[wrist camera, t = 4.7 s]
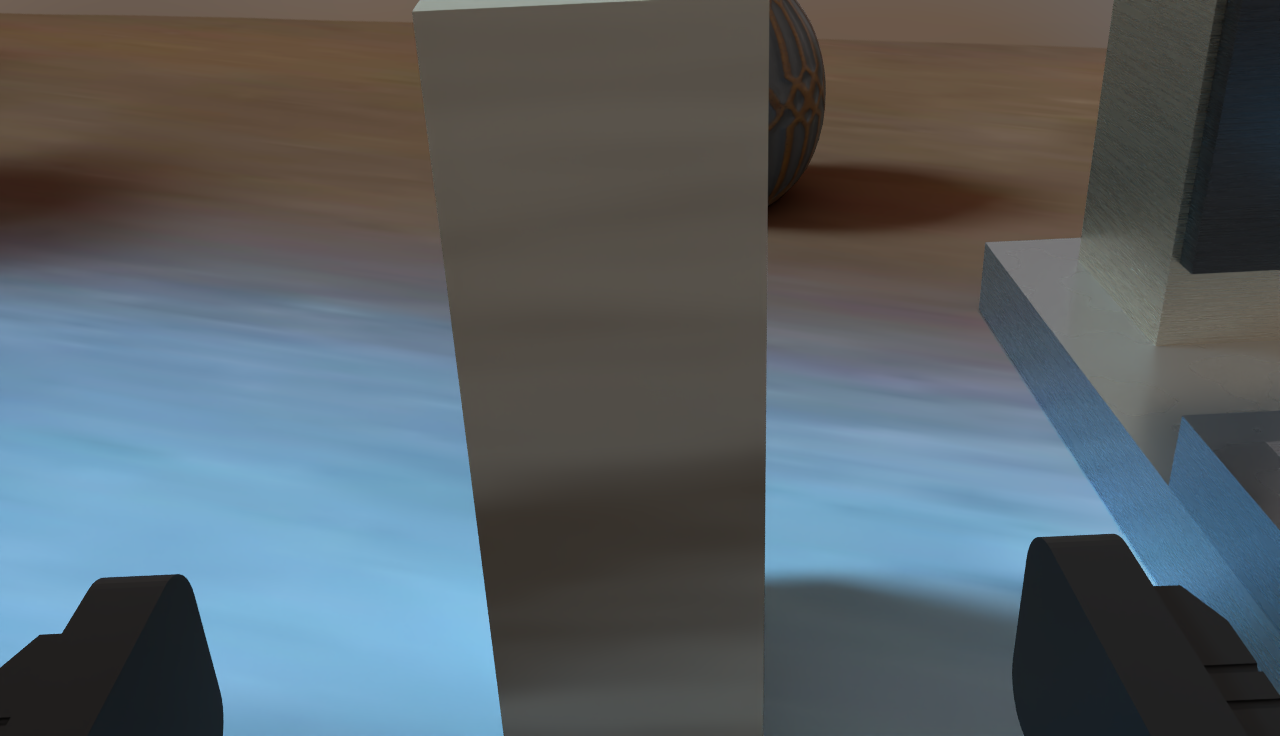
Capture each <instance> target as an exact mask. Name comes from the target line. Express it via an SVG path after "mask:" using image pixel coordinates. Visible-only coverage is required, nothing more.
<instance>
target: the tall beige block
mask: <svg viewBox="0 0 1280 736" xmlns="http://www.w3.org/2000/svg"><path fill="white" fill-rule="evenodd" d="M412 15H413V23H414V31H415V39H416V46H417V54H418V62H419V70H420V78H421V86H422V94H423V102H424V110H425V118H426V125H427V133H428V141H429V149H430V157H431V165H432V173H433V181H434V189H435V196H436V204H437V212H438V220H439V228H440V236H441V244H442V252H443V260H444V268H445V275H446V283H447V291H448V299H449V307H450V315H451V323H452V331H453V339H454V346H455V354H456V362H457V370H458V378H459V386H460V394H461V402H462V410H463V418H464V425H465V433H466V441H467V449H468V457H469V465H470V473H471V481H472V489H473V496H474V504H475V512H476V520H477V528H478V536H479V544H480V552H481V560H482V567H483V575H484V583H485V591H486V599H487V607H488V615H489V623H490V631H491V639H492V646H493V654H494V662H495V670H496V678H497V686H498V694H499V702H500V710H501V717H502V725H503V733H504V736H763V706H764V588H765V469H766V350H767V232H768V113H769V0H420V1H419V2H418V4H417V5H416V7H415V8H414V10H413V11H412Z"/></svg>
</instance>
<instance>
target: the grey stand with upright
mask: <svg viewBox="0 0 1280 736" xmlns="http://www.w3.org/2000/svg"><path fill="white" fill-rule="evenodd" d="M979 310H980V312H981V313H982V315H983V316H984V318H985V320H986V321H987V323H988V324H989V326H990V327H991V329H992V330H993V332H994V333H995V335H996V336H997V338H998V339H999V341H1000V343H1001V344H1002V346H1003V347H1004V349H1005V350H1006V352H1007V353H1008V355H1009V356H1010V358H1011V359H1012V361H1013V362H1014V364H1015V366H1016V367H1017V369H1018V370H1019V372H1020V373H1021V375H1022V376H1023V378H1024V379H1025V381H1026V382H1027V384H1028V385H1029V387H1030V389H1031V390H1032V392H1033V393H1034V395H1035V396H1036V398H1037V399H1038V401H1039V402H1040V404H1041V405H1042V407H1043V408H1044V410H1045V412H1046V413H1047V415H1048V416H1049V418H1050V419H1051V421H1052V422H1053V424H1054V425H1055V427H1056V428H1057V430H1058V431H1059V433H1060V435H1061V436H1062V438H1063V439H1064V441H1065V442H1066V444H1067V445H1068V447H1069V448H1070V450H1071V451H1072V453H1073V454H1074V456H1075V458H1076V459H1077V461H1078V462H1079V464H1080V465H1081V467H1082V468H1083V470H1084V471H1085V473H1086V474H1087V476H1088V477H1089V479H1090V481H1091V482H1092V484H1093V485H1094V487H1095V488H1096V490H1097V491H1098V493H1099V494H1100V496H1101V497H1102V499H1103V500H1104V502H1105V504H1106V505H1107V507H1108V508H1109V510H1110V511H1111V513H1112V514H1113V516H1114V517H1115V519H1116V520H1117V522H1118V523H1119V525H1120V527H1121V528H1122V530H1123V531H1124V533H1125V534H1126V536H1127V537H1128V539H1129V540H1130V542H1131V543H1132V545H1133V546H1134V548H1135V550H1136V551H1137V553H1138V554H1139V556H1140V557H1141V559H1142V560H1143V562H1144V563H1145V565H1146V566H1147V568H1148V569H1149V571H1150V573H1151V574H1152V576H1153V577H1154V579H1155V580H1156V582H1157V583H1158V585H1159V586H1171V585H1181V586H1182V587H1183V588H1185V589H1186V590H1188V591H1189V592H1190V593H1192V594H1193V595H1194V596H1196V597H1197V598H1198V599H1200V600H1201V601H1202V602H1204V603H1205V604H1206V605H1208V606H1209V607H1210V608H1212V609H1213V610H1214V611H1216V612H1217V613H1218V614H1220V615H1221V616H1222V617H1224V618H1225V619H1227V620H1228V621H1229V623H1230V624H1231V626H1232V627H1233V629H1234V630H1235V631H1236V633H1237V634H1238V636H1239V637H1240V639H1241V640H1242V642H1243V643H1244V644H1245V646H1246V647H1247V649H1248V650H1249V652H1250V653H1251V655H1252V656H1253V657H1254V659H1255V660H1256V662H1257V668H1258V671H1259V672H1261V671H1263V672H1264V673H1265V675H1266V676H1267V678H1268V679H1269V680H1270V682H1271V683H1272V685H1273V686H1274V688H1275V689H1276V690H1277V692H1278V693H1279V695H1280V0H1114V4H1113V11H1112V18H1111V26H1110V32H1109V40H1108V47H1107V54H1106V61H1105V69H1104V76H1103V83H1102V90H1101V98H1100V105H1099V112H1098V119H1097V127H1096V134H1095V141H1094V148H1093V156H1092V163H1091V170H1090V177H1089V185H1088V192H1087V199H1086V206H1085V214H1084V221H1083V228H1082V235H1081V238H1067V239H1047V240H1026V241H1006V242H985V252H984V262H983V272H982V282H981V292H980V302H979Z"/></svg>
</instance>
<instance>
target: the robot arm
mask: <svg viewBox="0 0 1280 736" xmlns="http://www.w3.org/2000/svg"><path fill="white" fill-rule="evenodd" d="M1012 680H1013V692H1014V700H1015V705H1016V711H1017V715H1018V719H1019V722H1020V726H1021V728H1022V731H1023V734H1024V736H1280V695H1279V693H1278V692H1277V690H1276V689H1275V688H1274V686H1273V685H1272V683H1271V682H1270V680H1269V679H1268V678H1267V676H1266V675H1265V673H1264V672H1263V671H1261V672H1259V671H1258V668H1257V662H1256V660H1255V659H1254V657H1253V656H1252V655H1251V653H1250V652H1249V650H1248V649H1247V647H1246V646H1245V644H1244V643H1243V642H1242V640H1241V639H1240V637H1239V636H1238V634H1237V633H1236V631H1235V630H1234V629H1233V627H1232V626H1231V624H1230V623H1229V621H1228V620H1227V619H1225V618H1224V617H1222V616H1221V615H1220V614H1218V613H1217V612H1216V611H1214V610H1213V609H1212V608H1210V607H1209V606H1208V605H1206V604H1205V603H1204V602H1202V601H1201V600H1200V599H1198V598H1197V597H1196V596H1194V595H1193V594H1192V593H1190V592H1189V591H1188V590H1186V589H1185V588H1183V587H1182V586H1181V585H1171V586H1153V585H1152V584H1151V582H1150V580H1149V579H1148V577H1147V576H1146V574H1145V572H1144V571H1143V569H1142V568H1141V566H1140V565H1139V563H1138V561H1137V560H1136V558H1135V557H1134V555H1133V554H1132V552H1131V550H1130V549H1129V547H1128V546H1127V544H1126V543H1125V542H1124V540H1123V539H1122V538H1121V537H1120V536H1118V535H1116V534H1099V535H1077V536H1055V537H1037V538H1035V539H1034V540H1033V541H1032V542H1031V544H1030V547H1029V550H1028V554H1027V559H1026V567H1025V574H1024V582H1023V589H1022V596H1021V604H1020V611H1019V618H1018V626H1017V633H1016V641H1015V648H1014V655H1013V665H1012ZM0 736H223V705H222V698H221V693H220V689H219V685H218V682H217V678H216V674H215V670H214V667H213V663H212V659H211V655H210V652H209V648H208V644H207V640H206V637H205V633H204V629H203V626H202V622H201V618H200V614H199V611H198V607H197V603H196V599H195V596H194V592H193V589H192V587H191V585H190V583H189V581H188V580H187V578H185V577H184V576H183V575H180V574H174V575H152V576H130V577H108V578H100V579H98V580H96V581H95V582H94V583H93V584H92V586H91V587H90V588H89V590H88V591H87V593H86V595H85V596H84V598H83V600H82V601H81V603H80V605H79V606H78V608H77V609H76V611H75V613H74V614H73V616H72V618H71V619H70V621H69V623H68V624H67V626H66V628H65V629H64V631H63V633H62V634H45V635H39V636H38V637H37V638H35V639H34V640H33V641H32V642H31V643H29V644H28V645H27V646H26V647H25V648H23V649H22V650H21V651H20V652H19V653H17V654H16V655H15V656H14V657H13V658H11V659H10V660H9V661H8V662H7V663H5V664H4V665H3V666H2V667H1V668H0Z"/></svg>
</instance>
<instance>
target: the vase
mask: <svg viewBox="0 0 1280 736" xmlns="http://www.w3.org/2000/svg"><path fill="white" fill-rule="evenodd" d="M825 95H826V82H825V72H824V64H823V59H822V54H821V51H820V47H819V43H818V40H817V37H816V34H815V31H814V29H813V27H812V24H811V22H810V20H809V19H808V17H807V15H806V13H805V12H804V10H803V9H802V7H801V6H800V4H799V3H798V2H797V0H769V113H768V205H770V204H772V203H774V202H775V201H777V200H778V199H779V198H780V197H781V196H783V195H784V194H785V193H786V192H787V191H788V190H789V189H790V188H791V187H792V186H793V185H794V184H795V183H796V182H797V181H798V179H799V178H800V177H801V175H802V174H803V172H804V171H805V170H806V168H807V167H808V165H809V163H810V160H811V158H812V156H813V154H814V152H815V149H816V146H817V143H818V140H819V137H820V133H821V129H822V125H823V118H824V110H825Z"/></svg>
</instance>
